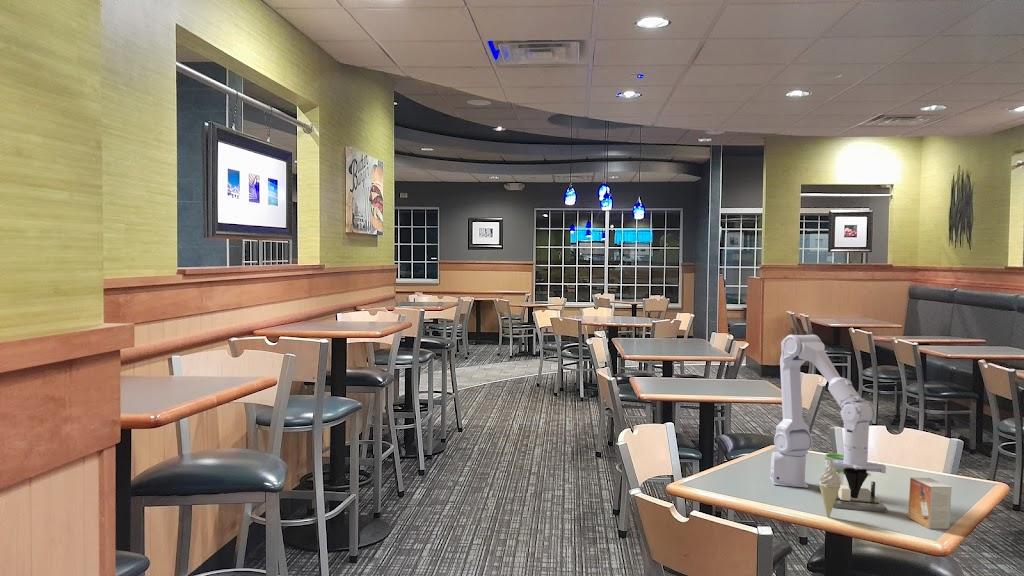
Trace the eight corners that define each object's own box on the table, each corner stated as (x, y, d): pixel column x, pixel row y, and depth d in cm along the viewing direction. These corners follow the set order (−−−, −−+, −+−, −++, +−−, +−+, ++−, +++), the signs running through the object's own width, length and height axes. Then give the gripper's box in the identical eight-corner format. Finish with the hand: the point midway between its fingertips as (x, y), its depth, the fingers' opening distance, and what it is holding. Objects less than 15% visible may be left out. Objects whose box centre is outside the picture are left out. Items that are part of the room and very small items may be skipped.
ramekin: (860, 474, 224) (860, 460, 224) (831, 473, 224) (832, 459, 224) (847, 467, 233) (847, 453, 233) (819, 466, 233) (820, 452, 233)
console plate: (832, 507, 189) (833, 486, 189) (818, 488, 207) (819, 468, 207) (886, 512, 186) (887, 490, 186) (867, 492, 204) (868, 473, 204)
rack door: (833, 491, 198) (834, 479, 198) (828, 490, 199) (829, 478, 199) (844, 484, 206) (844, 472, 206) (838, 483, 207) (839, 471, 207)
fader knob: (841, 499, 191) (841, 488, 191) (837, 496, 194) (838, 485, 194) (850, 500, 190) (850, 489, 190) (847, 496, 194) (847, 485, 194)
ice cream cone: (837, 521, 177) (840, 461, 177) (815, 517, 180) (818, 458, 180) (840, 516, 182) (842, 457, 181) (819, 512, 184) (821, 454, 184)
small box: (907, 518, 182) (909, 477, 182) (928, 518, 183) (930, 477, 183) (928, 529, 174) (930, 486, 174) (950, 529, 175) (952, 486, 175)
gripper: (830, 447, 189) (828, 498, 189) (890, 452, 186) (887, 504, 186) (824, 441, 196) (822, 491, 196) (882, 446, 193) (880, 496, 193)
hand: (854, 497), depth 192 cm, fingers closed
